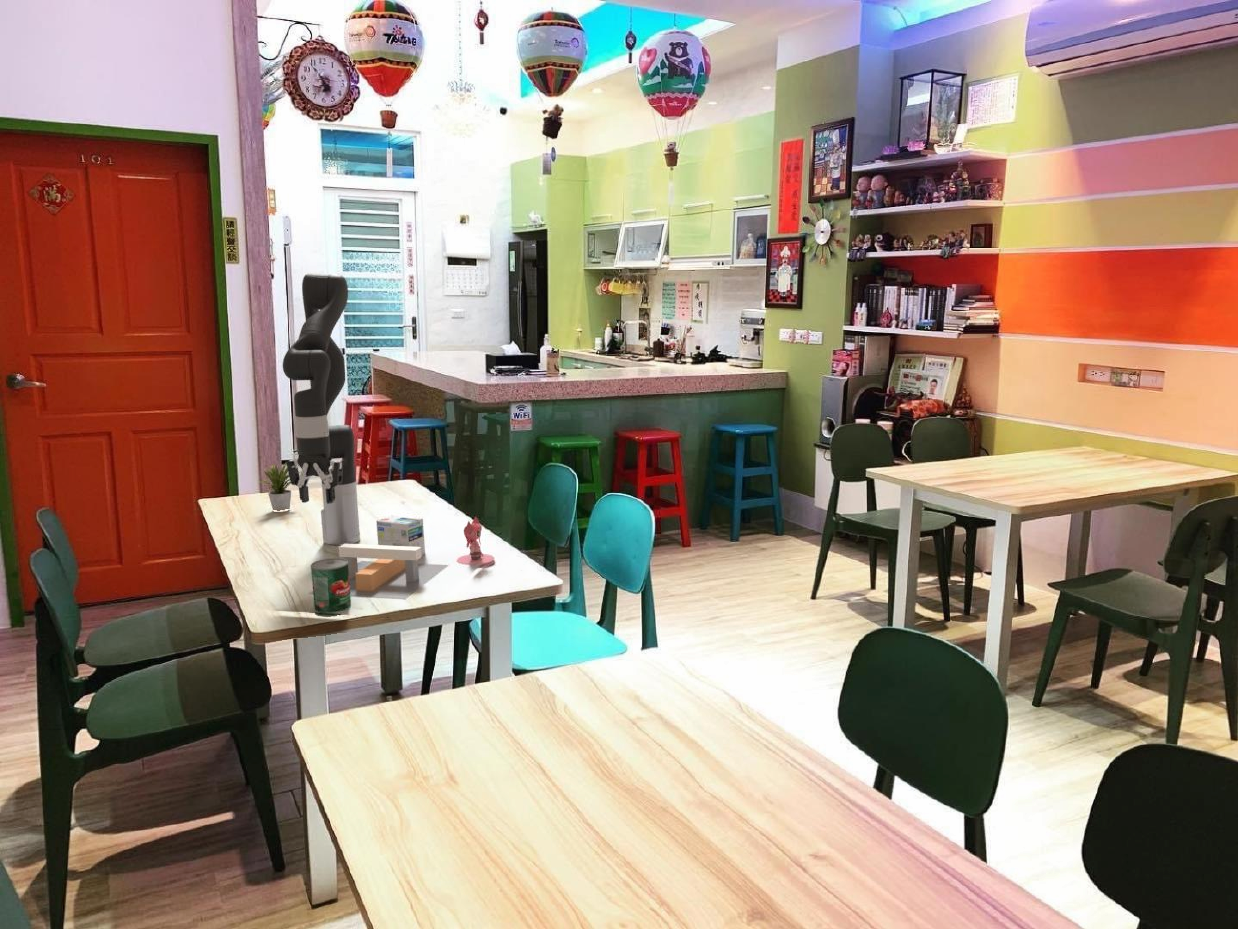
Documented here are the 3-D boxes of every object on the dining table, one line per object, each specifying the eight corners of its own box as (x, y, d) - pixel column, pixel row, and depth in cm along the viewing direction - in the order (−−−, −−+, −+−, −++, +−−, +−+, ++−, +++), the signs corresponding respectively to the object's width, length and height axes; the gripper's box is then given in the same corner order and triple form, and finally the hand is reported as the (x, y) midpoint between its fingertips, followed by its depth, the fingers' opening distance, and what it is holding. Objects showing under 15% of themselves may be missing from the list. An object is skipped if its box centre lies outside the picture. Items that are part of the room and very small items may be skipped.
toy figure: (487, 569, 227) (485, 523, 225) (451, 567, 229) (448, 522, 227) (499, 558, 237) (497, 514, 234) (464, 556, 239) (462, 513, 236)
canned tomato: (349, 615, 196) (345, 567, 194) (311, 618, 195) (307, 569, 193) (353, 603, 204) (350, 557, 202) (317, 605, 202) (313, 559, 200)
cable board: (308, 597, 208) (306, 571, 207) (361, 564, 233) (360, 541, 232) (405, 603, 203) (403, 576, 202) (448, 568, 228) (447, 545, 227)
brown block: (356, 590, 210) (355, 573, 209) (390, 567, 227) (389, 552, 226) (372, 591, 209) (371, 574, 208) (405, 568, 226) (404, 552, 225)
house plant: (294, 516, 284) (290, 466, 281) (251, 517, 285) (246, 466, 282) (310, 506, 299) (306, 458, 295) (269, 506, 299) (264, 458, 296)
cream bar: (339, 556, 217) (338, 547, 217) (345, 553, 220) (344, 543, 220) (416, 560, 213) (415, 550, 213) (421, 557, 216) (421, 547, 216)
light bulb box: (426, 557, 239) (424, 518, 237) (410, 564, 233) (408, 524, 231) (394, 552, 243) (391, 514, 241) (377, 559, 237) (375, 520, 235)
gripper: (276, 436, 212) (282, 505, 215) (332, 437, 209) (337, 507, 212) (293, 431, 219) (299, 498, 222) (347, 432, 216) (352, 500, 220)
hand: (317, 502), depth 217 cm, fingers open, 6 cm apart
